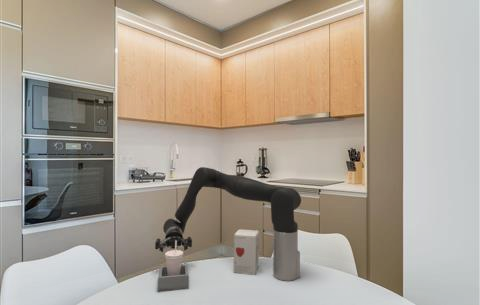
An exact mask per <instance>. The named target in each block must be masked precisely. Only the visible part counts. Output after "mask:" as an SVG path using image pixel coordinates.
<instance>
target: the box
mask: <svg viewBox="0 0 480 305" xmlns="http://www.w3.org/2000/svg"><path fill="white" fill-rule="evenodd" d="M188 265H189V264H186V263H185V264H181V270H180V275H173V276H168V273H167V265H164V266H163V265H161V266H159V270H158V277H157V292H158V293H160V292H161V293H162V292H170V291H182V290H189V287H190V286H189V284H190V283H189V281H190V280H189V279H190V275H189V266H188Z"/></svg>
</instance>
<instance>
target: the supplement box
mask: <svg viewBox="0 0 480 305" xmlns="http://www.w3.org/2000/svg"><path fill="white" fill-rule="evenodd" d="M233 235H234V236H233V273H234V274H235V273H237V274H245V275H253V276H256V275H257V273H258V269H259V264H260V263H259V260H260V259H259V258H260V256H259V255H260V254H259V253H260V252H259V251H260V230H253V229H240V228H239V229H238V230H237V231H236V232H234V234H233Z"/></svg>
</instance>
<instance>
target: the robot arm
mask: <svg viewBox="0 0 480 305" xmlns="http://www.w3.org/2000/svg"><path fill="white" fill-rule="evenodd" d="M202 188H214V189H221V190H224V191H226V192H227V193H228V194H230V195H231V196H233V197H236V198H240V199H243V200H247V201H256V202H267V203H269V204H270V217H271V218H270V219H271V223H272V227H273V231H272V232H273V234H272V235H273V247H272V248H273V253H272V254H273V256H272V257H273V258H272V261H273V266H272V268H273V269H272V272H273V274H272V275H273V276H274V278H276V279H278V280H281V281H288V282H289V281H295V280H297V279H299V278H301V251H299V250H298V249H299V248H298V247H299V245H298V244H299V241H298V240H299V239H298V238H299V237H298V234H299V232H298V231H299V228H298V227H299V226H298V223H297V222H296V221H295V213H294V211H295V210H297V209H298V208H299V207H300V206H301V203H302V197H301V195H300V193H299V192H298V191H297V190H295V189H294V188H292V187H285V186H278V185H272V184H268V183H265V182H262V181H260V180H256V179H253V178H250V177H247V176H242V175H236V174H227V173H224V172H221V171H219V170H216V169H214V168H211V167H202V166H201V167H199V168H197V169H196V170H195V172H194V174H193V176H192V179H191V181H190V183H189V186H188V188H187V191H186V194H185V195H184V198H183V200H182V201H181V203H180V205H179V207H178V208H177V210H176V211H175V213H174V217H175V218H176V219H174V218H168V219H166V220H165V222H164V224H163V232H164V235H165V236H164V237H165V238H164V239H163V240H162V239H160V238H156V241H155V243H154V246H155V247H154V249H155V250H158V249H159V251H160V252H161V253H164V249H166V250H167V249H173V250H175V241H176V240H177V248H180V249H182V248H183V250H184V251H183V252H185V251H187V250H188V249H189V248H193V239H192V237H190V236H188V237H187V238H184V236H183V234H185V230H186V225H187V223H188V221H189V218H190V216H191V215H192V213H193V212H194V210H195V207H196V205H197V203H196V202H197V196H198V195H199V192H200V191H202Z"/></svg>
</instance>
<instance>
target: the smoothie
mask: <svg viewBox="0 0 480 305" xmlns="http://www.w3.org/2000/svg"><path fill="white" fill-rule="evenodd" d="M183 257H184V251H183V250H180V249H179V250H178V249H177V240H176V241H175V248H174V249H173V250H168V251H166V252H165V253H164V258H165V262H166V263H165V264H166V266H167V273H168V276H173V275H180V270H181V265H182V260H183Z"/></svg>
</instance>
